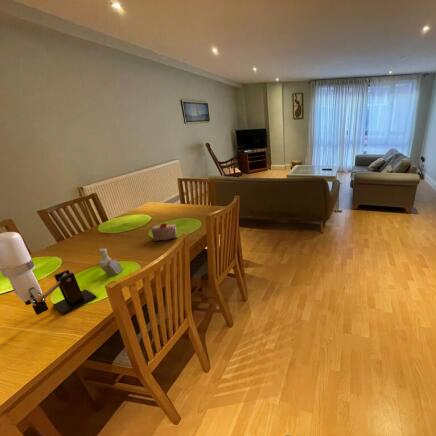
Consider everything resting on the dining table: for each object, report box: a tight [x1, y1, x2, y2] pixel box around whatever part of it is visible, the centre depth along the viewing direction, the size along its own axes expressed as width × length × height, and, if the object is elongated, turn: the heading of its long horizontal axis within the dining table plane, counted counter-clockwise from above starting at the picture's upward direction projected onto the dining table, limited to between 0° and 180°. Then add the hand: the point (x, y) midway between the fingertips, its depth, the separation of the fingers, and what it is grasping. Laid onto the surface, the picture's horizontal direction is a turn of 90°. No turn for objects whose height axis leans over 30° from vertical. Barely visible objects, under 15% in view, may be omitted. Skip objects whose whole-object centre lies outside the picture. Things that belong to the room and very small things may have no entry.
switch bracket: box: [52, 269, 97, 316], centre depth 95 cm, size 11×9×14 cm
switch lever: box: [33, 273, 68, 302], centre depth 91 cm, size 13×3×3 cm, turn 150°
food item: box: [151, 222, 178, 242], centre depth 150 cm, size 14×8×10 cm, turn 108°
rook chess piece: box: [98, 247, 112, 261], centre depth 124 cm, size 4×4×8 cm
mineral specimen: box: [98, 259, 123, 277], centre depth 115 cm, size 7×9×8 cm
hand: (37, 307), depth 88 cm, fingers open, 9 cm apart
